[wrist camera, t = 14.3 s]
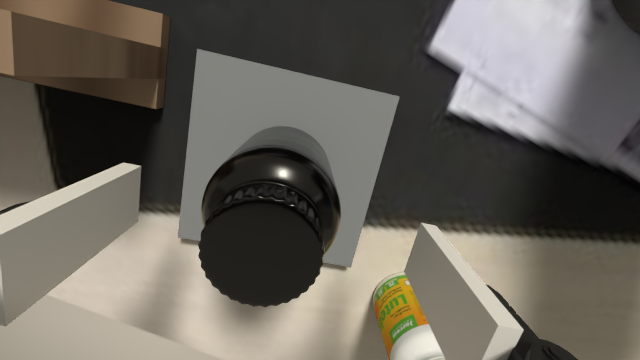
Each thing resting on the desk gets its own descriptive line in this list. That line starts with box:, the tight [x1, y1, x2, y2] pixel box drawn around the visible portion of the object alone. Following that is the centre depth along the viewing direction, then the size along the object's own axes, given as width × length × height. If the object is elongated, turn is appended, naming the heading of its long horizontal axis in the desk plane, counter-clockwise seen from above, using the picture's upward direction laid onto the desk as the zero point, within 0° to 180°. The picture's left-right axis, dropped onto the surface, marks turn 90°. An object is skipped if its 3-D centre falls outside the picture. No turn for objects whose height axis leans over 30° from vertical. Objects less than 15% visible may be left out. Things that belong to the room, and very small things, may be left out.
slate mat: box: [178, 49, 399, 267], centre depth 24 cm, size 14×14×1 cm
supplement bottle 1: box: [198, 126, 341, 307], centre depth 18 cm, size 7×7×12 cm
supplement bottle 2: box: [373, 272, 445, 360], centre depth 24 cm, size 5×5×10 cm
